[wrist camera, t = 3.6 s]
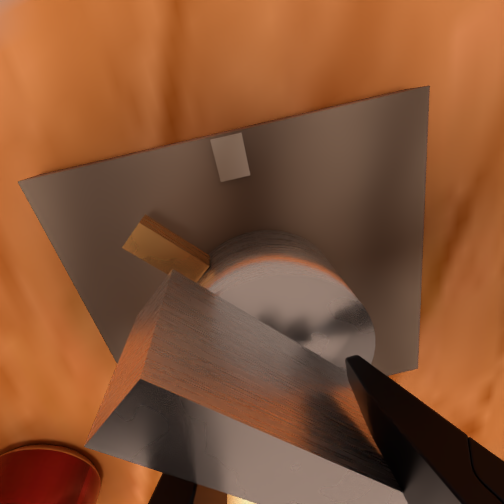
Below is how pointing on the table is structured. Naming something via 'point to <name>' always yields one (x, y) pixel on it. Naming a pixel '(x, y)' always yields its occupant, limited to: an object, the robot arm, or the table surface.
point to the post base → (259, 209)
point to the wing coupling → (246, 374)
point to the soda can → (47, 476)
